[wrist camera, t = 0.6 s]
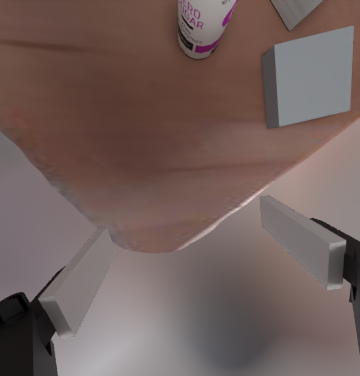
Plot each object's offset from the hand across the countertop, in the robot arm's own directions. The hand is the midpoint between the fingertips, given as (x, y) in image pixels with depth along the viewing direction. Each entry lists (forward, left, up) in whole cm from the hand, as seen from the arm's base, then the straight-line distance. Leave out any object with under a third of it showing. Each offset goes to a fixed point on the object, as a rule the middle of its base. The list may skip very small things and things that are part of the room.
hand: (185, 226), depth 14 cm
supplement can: (-25, +10, -27) cm, 38 cm away
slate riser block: (-12, +29, -27) cm, 41 cm away
